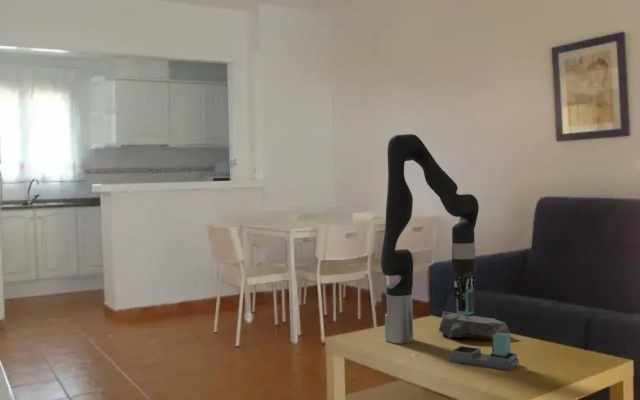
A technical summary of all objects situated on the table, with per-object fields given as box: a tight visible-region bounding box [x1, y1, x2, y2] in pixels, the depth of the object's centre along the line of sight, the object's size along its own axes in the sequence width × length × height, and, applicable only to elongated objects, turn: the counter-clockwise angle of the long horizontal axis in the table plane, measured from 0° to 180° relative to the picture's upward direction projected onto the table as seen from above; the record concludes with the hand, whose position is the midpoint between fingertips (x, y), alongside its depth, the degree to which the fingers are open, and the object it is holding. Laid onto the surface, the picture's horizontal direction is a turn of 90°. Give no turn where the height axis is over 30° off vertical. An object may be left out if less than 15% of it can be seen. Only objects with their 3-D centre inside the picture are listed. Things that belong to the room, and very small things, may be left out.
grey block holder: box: [449, 332, 520, 371], centre depth 214 cm, size 20×7×10 cm, turn 54°
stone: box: [438, 310, 511, 339], centre depth 250 cm, size 24×8×25 cm
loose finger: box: [455, 288, 475, 316], centre depth 217 cm, size 4×4×8 cm
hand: (465, 309), depth 217 cm, fingers closed on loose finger, 4 cm apart
